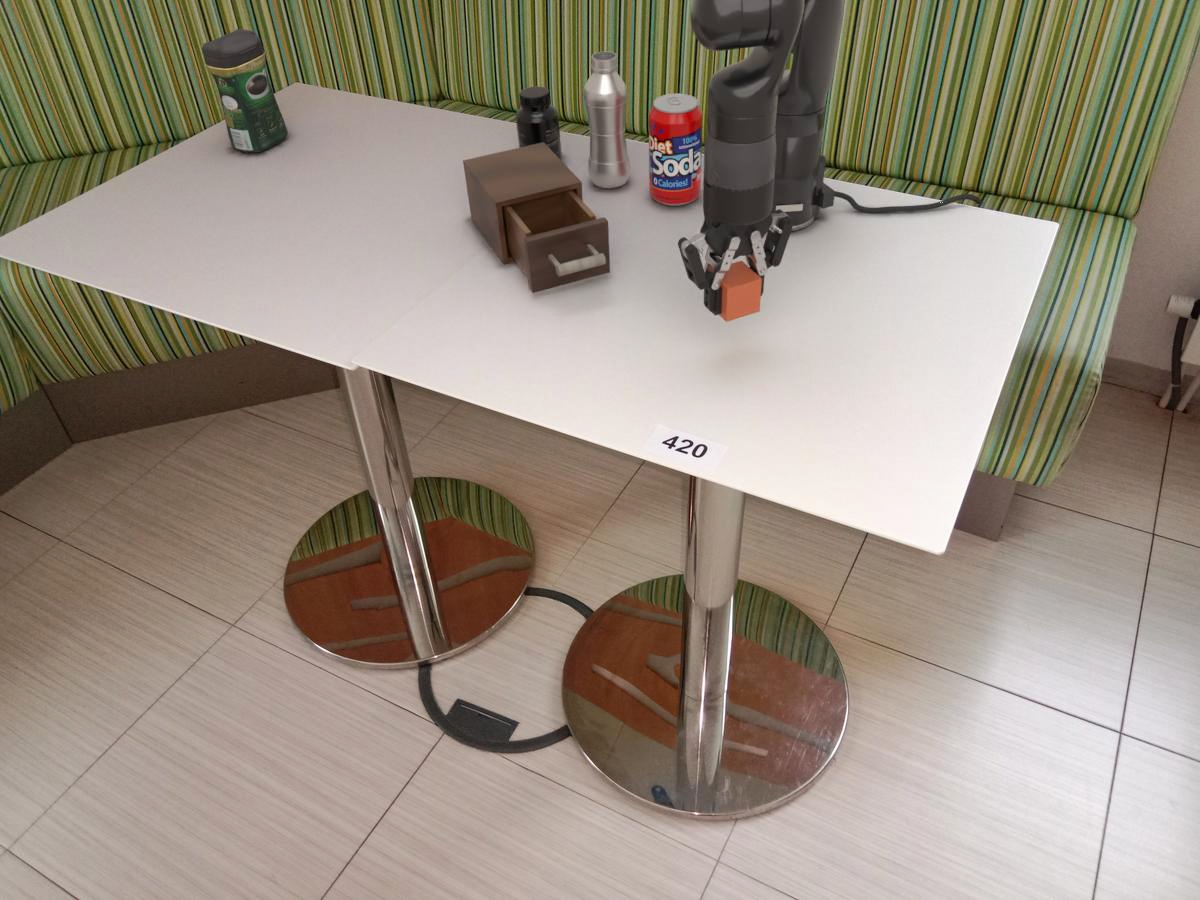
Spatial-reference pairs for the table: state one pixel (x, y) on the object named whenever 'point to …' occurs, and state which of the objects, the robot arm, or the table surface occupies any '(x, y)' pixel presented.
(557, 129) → the supplement bottle
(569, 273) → the drawer
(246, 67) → the coffee jar
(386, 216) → the table surface
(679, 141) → the soda can
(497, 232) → the cabinet
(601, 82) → the silver metal bottle
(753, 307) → the block
